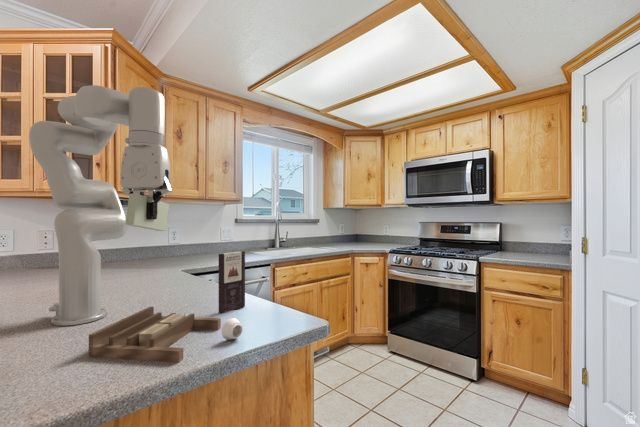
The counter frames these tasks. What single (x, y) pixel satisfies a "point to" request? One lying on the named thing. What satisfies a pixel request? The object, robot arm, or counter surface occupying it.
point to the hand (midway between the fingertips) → (146, 218)
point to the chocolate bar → (231, 281)
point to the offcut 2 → (172, 319)
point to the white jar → (231, 329)
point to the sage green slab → (138, 213)
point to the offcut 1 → (151, 333)
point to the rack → (124, 339)
